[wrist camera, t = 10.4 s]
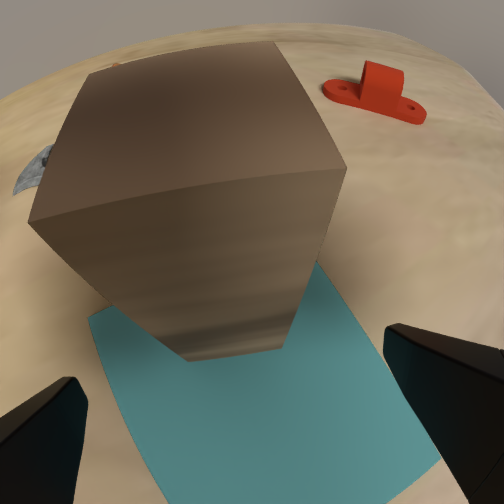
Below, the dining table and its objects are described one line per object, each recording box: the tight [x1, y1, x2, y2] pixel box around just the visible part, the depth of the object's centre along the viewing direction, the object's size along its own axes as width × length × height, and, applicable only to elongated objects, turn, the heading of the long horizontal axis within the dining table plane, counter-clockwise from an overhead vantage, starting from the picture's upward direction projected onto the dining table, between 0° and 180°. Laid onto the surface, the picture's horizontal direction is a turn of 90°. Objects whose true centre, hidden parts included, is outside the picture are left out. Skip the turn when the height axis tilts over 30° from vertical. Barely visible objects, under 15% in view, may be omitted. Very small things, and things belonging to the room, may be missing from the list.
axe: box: [13, 63, 121, 196], centre depth 28 cm, size 22×6×2 cm, turn 179°
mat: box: [88, 261, 441, 504], centre depth 14 cm, size 18×14×1 cm
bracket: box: [323, 60, 427, 125], centre depth 26 cm, size 12×4×5 cm, turn 74°
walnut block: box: [28, 41, 347, 362], centre depth 11 cm, size 5×5×13 cm
